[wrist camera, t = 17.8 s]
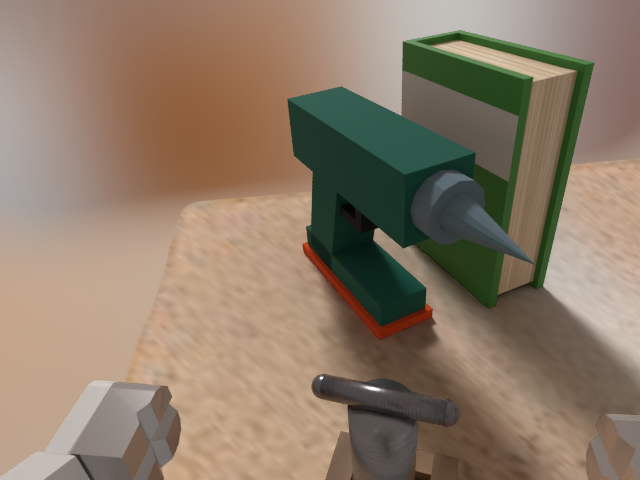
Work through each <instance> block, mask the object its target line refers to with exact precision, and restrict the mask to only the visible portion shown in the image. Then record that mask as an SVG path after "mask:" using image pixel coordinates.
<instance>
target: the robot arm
mask: <svg viewBox="0 0 640 480" xmlns="http://www.w3.org/2000/svg"><path fill="white" fill-rule="evenodd" d="M171 398H172V395H171V393H170V391H169V389H168V386H161V385H149V384H138V383H127V382H116V381H101V380H95V381H93V382H92V383H90V384H89V385H88V386H87V387H86V388H85V390H84V391H83V393H82V394H81V396H80V397H79V399H78V400H77V402H76V403H75V405H74V406H73V408H72V409H71V411H70V412H69V414H68V415H67V417H66V419H65V420H64V421H63V423H62V425H61V426H60V428H59V429H58V430H57V432H56V433H55V435H54V436H53V438H52V440H51V441H50V443H49V444H48V446H47V447H46V449H45V450H44V452H35V453H34V454H32V455H31V456H30V457H28V458H27V459H25V460H24V461H22V462H21V463H20V464H18V465H17V466H15V467H14V468H12V469H11V470H10V471H8V472H7V473H5V474H4V475H2V476H1V477H0V480H164V476H163V472H162V467H163V466H164V465H165V464H166V463H168V462H169V461H170V460H171V459H172V458H173V457H174V454H175V452H176V449H177V447H178V444H179V438H180V432H181V422H180V417H179V414H178V411H177V410H176V409H174V408H173V407H172V406H171V405H169V402H170V400H171ZM596 427H597V429H598V432H599V435H600V436H598V437H597V438H595V439H593V440H591V441H590V443H589V447H588V450H587V453H586V468H587V474H588V479H589V480H640V415H627V414H607V413H605V414H603V415H602V416H600V418H599V420H598V423H597V425H596Z"/></svg>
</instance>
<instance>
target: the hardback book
mask: <svg viewBox="0 0 640 480" xmlns="http://www.w3.org/2000/svg"><path fill="white" fill-rule="evenodd" d="M593 66H594V62H590V61H585V60H581V59H577V58H573V57H569V56H565V55H561V54H556V53H552V52H548V51H544V50H540V49H536V48H531V47H527V46H523V45H519V44H515V43H510V42H507V41H502V40H498V39H494V38H490V37H485V36H481V35H477V34H473V33H469V32H465V31H461V30H460V31H454V32H449V33H444V34H439V35H433V36H428V37H423V38H418V39H412V40H407V41H403V66H402V68H403V69H402V117H404V118H407V119H409V120H411V121H413V122H415V123H417V124H419V125H421V126H423V127H425V128H427V129H429V130H431V131H433V132H435V133H437V134H439V135H441V136H443V137H445V138H447V139H449V140H451V141H453V142H455V143H458V144H460V145H462V146H464V147H466V148H468V149H470V150H472V151H474V152H476V157H475V166H474V175H473V180H475V181H476V182H477V183H478V184H479V185H480V186H481V187H482V188H483V189H484V195H485V206H484V209H483V210H484V211H485V212H486V213H487V214H488V215H489V216H490V217H491V218H492V219H493V220H494V221H495V222H496V223H497V224H498V225H499V226H500V228H501V229H502V230H503V231H504V232H505V233H506V234H507V235H508V236H509V237H510V238H511V239H512V240H513V241H514V242H515V243H516V244H517V245H518V247H519V248H520V249H521V250H522V251H523V252H524V253H525V254H526V255H527V256H528V257H529V258H530V259H531V260H532V261H533V262H534V263H535V264H536V265H534V264H531V263H529V262H526V261H523V260H520V259H518V258H515V257H512V256H510V255H507V254H504V253H501V252H499V251H496V250H493V249H491V248H488V247H485V246H483V245H480V244H477V243H474V242H472V241H469V240H466V239H464V238H462V239H460V240H459V241H457V242H456V243H452V244H443V245H440V244H439V243H437V242H436V241H434V240H433V239H431V238H430V239H427V240H425V241H422V242H419V243H416V245H417V246H418V247H419V248H420V249H422V250H423V251H424V252H425V253H426V254H427V255H428V256H430V257H431V258H432V259H433V260H434V261H435V262H436V263H438V264H439V265H440V266H441V267H442V268H443V269H444V270H446V271H447V272H448V273H449V274H450V275H451V276H452V277H454V278H455V279H456V280H457V281H458V282H459V283H460V284H462V285H463V286H464V287H465V288H466V289H467V290H468V291H470V292H471V293H472V294H473V295H474V296H475V297H476V298H478V299H479V300H480V301H481V302H482V303H483V304H484V305H486V306H487V307H488V308H491V307H493V306H496V302H497V296H498V295H499V294H501V293H504V292H506V291H509V290H511V289H514V288H516V287H519V286H521V285H524V284H526V283H529V284H530V285H532V286H533V287H534V288H536V289H537V288H540V287H542V286H543V283H544V279H545V275H546V270H547V266H548V262H549V257H550V253H551V249H552V244H553V240H554V236H555V231H556V227H557V223H558V218H559V214H560V210H561V205H562V201H563V197H564V192H565V188H566V183H567V179H568V175H569V170H570V166H571V162H572V157H573V153H574V148H575V144H576V140H577V135H578V131H579V127H580V123H581V118H582V114H583V109H584V105H585V100H586V97H587V92H588V88H589V83H590V79H591V75H592V70H593Z"/></svg>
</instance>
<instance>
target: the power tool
mask: <svg viewBox="0 0 640 480" xmlns="http://www.w3.org/2000/svg"><path fill="white" fill-rule="evenodd" d="M288 108H289V117H290V126H291V134H292V143H293V152H294V156H295V157H296V158H298V159H299V160H300V161H301V162H302V163H303V164H305V165H306V166H307V167H308V168H309V169H310V170H312V171H313V181H312V183H313V184H312V217H311V225H310V226H307V227H306V229H307V239H308V242H306V243H303V251H304V252H305V253H306V254H307V255H308V257H309V258H310V259H311V260H312V261H313V262H314V264H315V265H316V266H317V267H318V268H319V270H320V271H321V272H322V273H323V274H324V275H325V277H326V278H327V279H328V280H329V281H330V283H331V284H332V285H333V286H334V287H335V288H336V290H337V291H338V292H339V293H340V294H341V295H342V297H343V298H344V299H345V300H346V301H347V303H348V304H349V305H350V306H351V307H352V308H353V310H354V311H355V312H356V313H357V314H358V315H359V317H360V318H361V319H362V320H363V321H364V323H365V324H366V325H367V326H368V327H369V328H370V330H371V331H372V332H373V333H374V334H375V335H376V337H377V338H378V339H379V340H380V339H383V338H385V337H387V336H389V335H392V334H394V333H396V332H399V331H401V330H403V329H406V328H408V327H410V326H412V325H415V324H417V323H419V322H422V321H424V320H426V319H428V318H431V317H432V310H433V309H432V308H431V307H430V306H429V305H427V304H426V303H425V302H426V287H425V286H423V285H422V284H421V283H420V282H419V281H418V280H417V279H416V278H415V277H413V276H412V275H411V274H410V273H409V272H408V271H407V270H406V269H405V268H403V267H402V266H401V265H400V264H399V263H398V262H397V261H396V260H395V259H393V258H392V257H391V256H390V255H389V254H388V253H387V252H386V251H385V250H383V249H382V248H381V247H380V246H379V245H378V244H377V243H376V242H375V241H373V236H374V230H375V229H376V228H380V229H381V230H382V231H383V232H385V233H386V234H387V235H388V236H389V237H390V238H392V239H393V240H394V241H395V242H396V243H397V244H399V245H400V246H401V247H402V248H406V247H408V246H411V245H414V244H416V243H419V242H422V241H425V240H427V239H430V238H431V239H433V240H434V241H436V242H437V243H439V244H440V245H443V244H452V243H456V242H457V241H459V240H460V239H462V238H464V239H466V240H469V241H472V242H474V243H477V244H480V245H483V246H485V247H488V248H491V249H493V250H496V251H499V252H501V253H504V254H507V255H510V256H512V257H515V258H518V259H520V260H523V261H526V262H529V263H531V264H534V265H536V264H535V263H534V262H533V261H532V260H531V259H530V258H529V257H528V256H527V255H526V254H525V253H524V252H523V251H522V250H521V249H520V248H519V247H518V245H517V244H516V243H515V242H514V241H513V240H512V239H511V238H510V237H509V236H508V235H507V234H506V233H505V232H504V231H503V230H502V229H501V228H500V226H499V225H498V224H497V223H496V222H495V221H494V220H493V219H492V218H491V217H490V216H489V215H488V214H487V213H486V212H485V211H484V210H483V209H484V206H485V195H484V189H483V188H482V187H481V186H480V185H479V184H478V183H477V182H476V181H475V180H473V175H474V166H475V157H476V152H474V151H472V150H470V149H468V148H466V147H464V146H462V145H460V144H458V143H455V142H453V141H451V140H449V139H447V138H445V137H443V136H441V135H439V134H437V133H435V132H433V131H431V130H429V129H427V128H425V127H423V126H421V125H419V124H417V123H415V122H413V121H411V120H409V119H407V118H404V117H402V116H400V115H398V114H396V113H394V112H392V111H390V110H388V109H386V108H384V107H382V106H380V105H378V104H376V103H374V102H372V101H370V100H368V99H365V98H364V97H362V96H360V95H358V94H355V93H353V92H351V91H349V90H347V89H345V88H343V87H337V88H333V89H329V90H324V91H320V92H316V93H311V94H307V95H302V96H298V97H294V98H289V99H288Z"/></svg>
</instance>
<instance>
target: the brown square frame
mask: <svg viewBox="0 0 640 480" xmlns="http://www.w3.org/2000/svg"><path fill="white" fill-rule="evenodd" d="M457 469H458V459H457V458H453V457H449V456H444V455H440V454H436V453H432V452H427V451H423V450H419V449H416V467H415V480H456V479H457ZM325 480H353V475H352V461H351V447H350V433H347V432H342V431H341V432H340V435H339V438H338V442H337V445H336V448H335V451H334V454H333V457H332V460H331V464H330V467H329V470H328V473H327V476H326V479H325Z"/></svg>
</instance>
